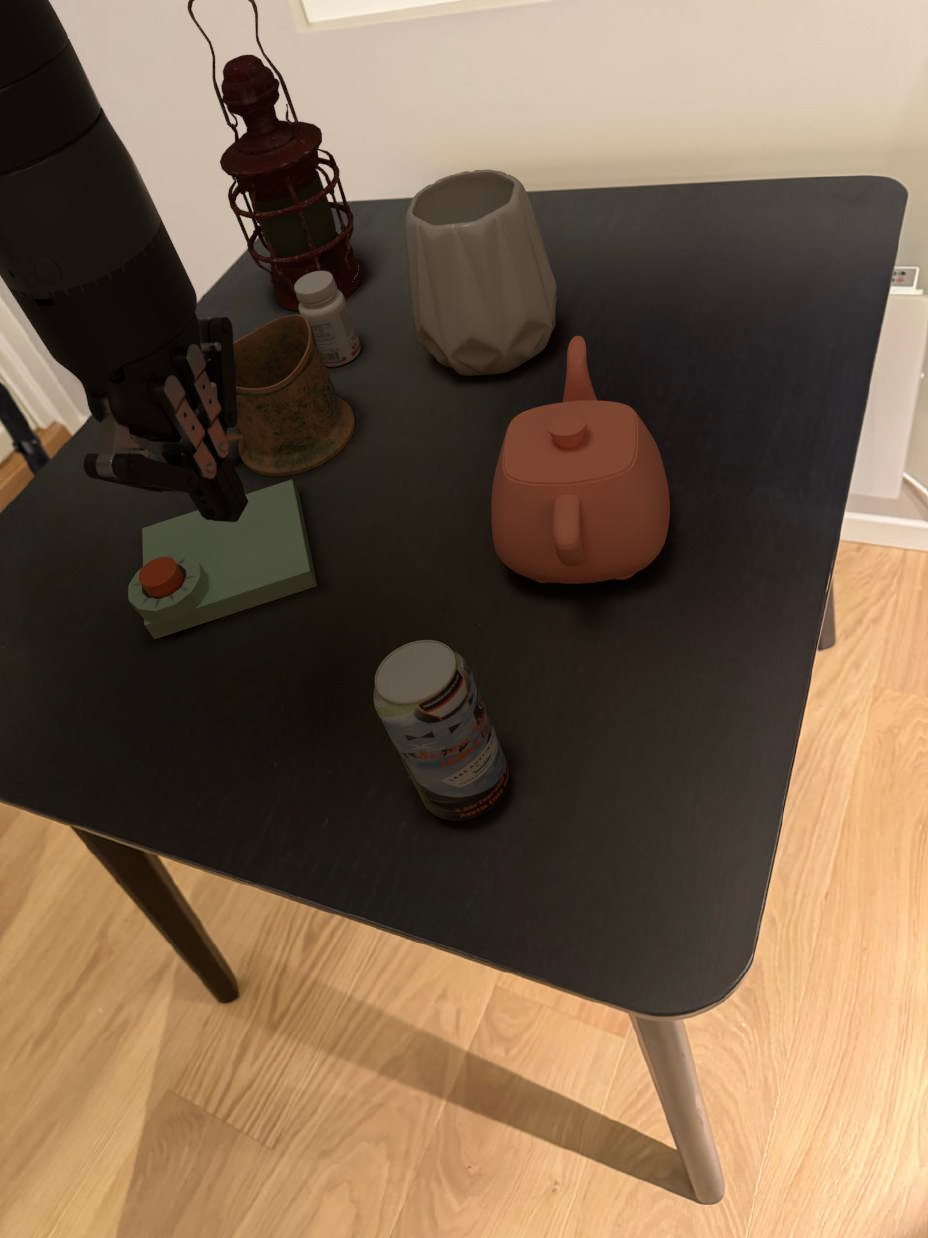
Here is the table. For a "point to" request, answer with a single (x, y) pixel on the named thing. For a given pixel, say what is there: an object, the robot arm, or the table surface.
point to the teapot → (579, 488)
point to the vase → (479, 273)
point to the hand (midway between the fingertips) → (229, 512)
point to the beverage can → (441, 729)
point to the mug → (286, 400)
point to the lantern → (282, 181)
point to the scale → (227, 561)
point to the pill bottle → (328, 317)
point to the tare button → (161, 577)
